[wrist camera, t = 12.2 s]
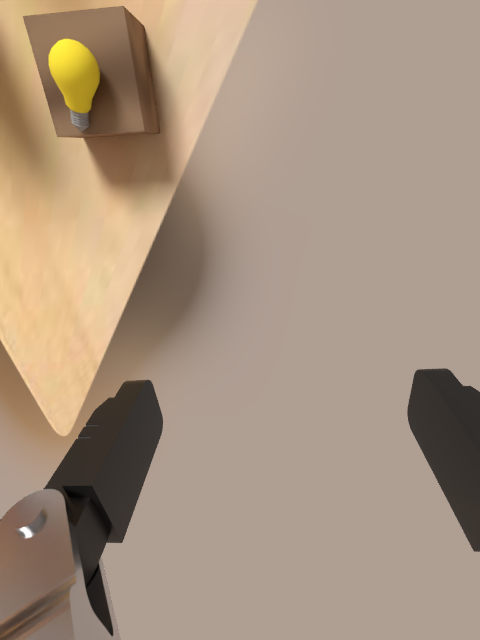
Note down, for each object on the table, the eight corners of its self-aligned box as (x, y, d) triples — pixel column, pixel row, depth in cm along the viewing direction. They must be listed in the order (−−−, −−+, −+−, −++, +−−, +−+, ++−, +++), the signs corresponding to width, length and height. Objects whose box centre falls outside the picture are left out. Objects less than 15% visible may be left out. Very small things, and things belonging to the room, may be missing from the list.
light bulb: (100, 42, 25) (94, 51, 22) (104, 126, 29) (99, 141, 26) (51, 28, 24) (39, 36, 21) (63, 117, 28) (54, 132, 25)
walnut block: (60, 35, 28) (22, 16, 24) (145, 27, 28) (123, 5, 23) (85, 137, 32) (57, 136, 28) (161, 133, 32) (144, 131, 27)
